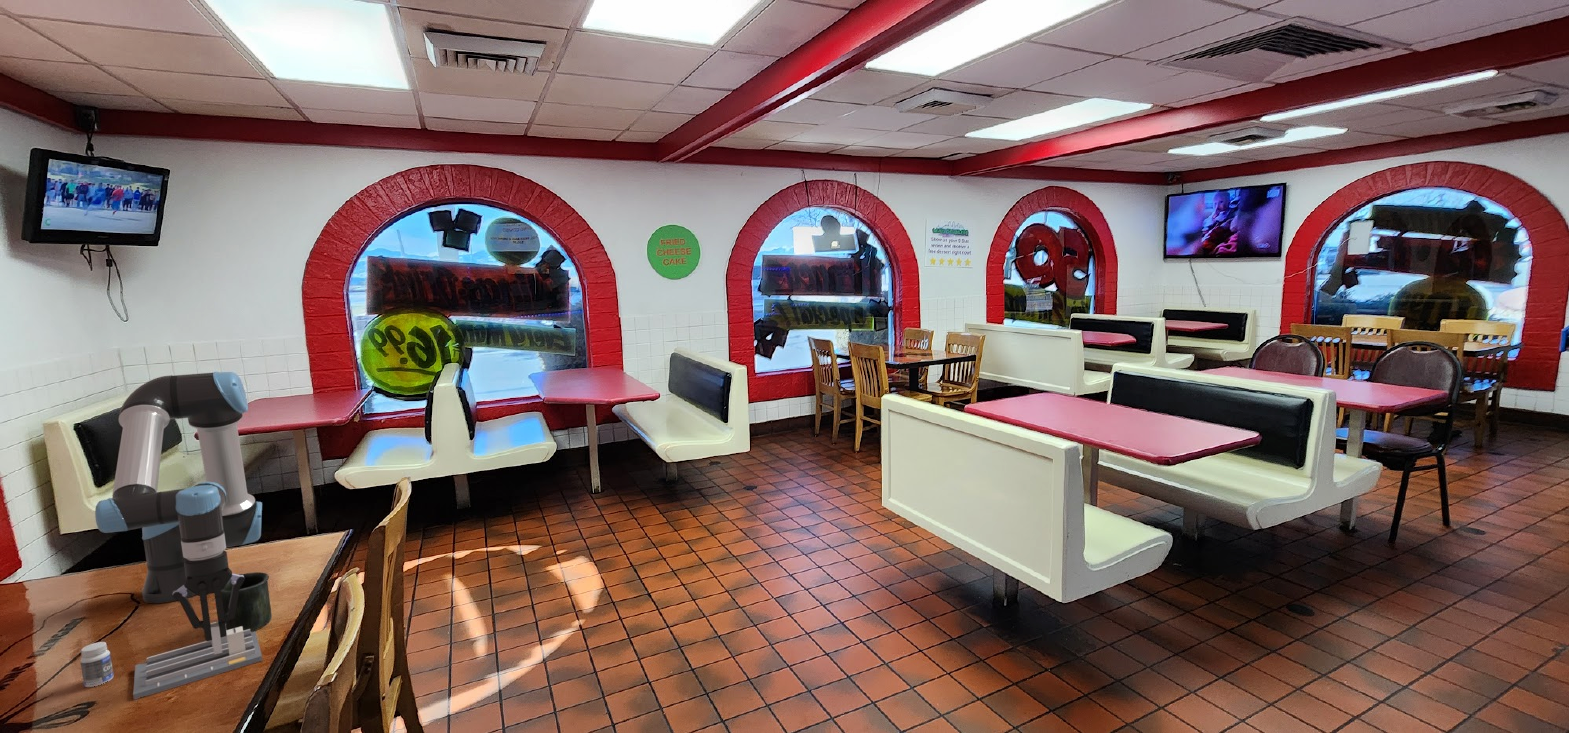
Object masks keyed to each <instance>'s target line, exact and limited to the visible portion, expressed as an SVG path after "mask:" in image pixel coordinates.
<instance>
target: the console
mask: <svg viewBox="0 0 1569 733" xmlns="http://www.w3.org/2000/svg"><path fill="white" fill-rule="evenodd" d="M215 622H216V621H214V622H210V624H212V623H215ZM225 625H226V624H225ZM243 633H244V640H245V648H246V651H244V652H240V653H237V654H234V655H230V656H229V649H228V642H227V634H226V636H225V637H221V645H222V653H219V654H215V655H214V649H213V642H212V640H211V641H206V640H205V641H201V642H197V643H195V644H194V643H193V644H192V645H188V646H187V645H186V646H184V647H180V648H176V649H173V650H169V651H165V652H162V653H159V654H156V655H151V656H148V657H146V661H144V662H142V663H138V664H136V665H134V680H133V692H132V695H133V696H132V697H133V700H134V699H135V700H139V699H141V698H140V697H142V698H144V697H143V696H145V697H149V696H151V695H154V694H158V693H161V692H164V691H167V690H170V689H174V688H178V687H181V686H184V685H186V684H190V683H194V682H197V681H201V680H204V679H206V678H210V677H213V676H216V675H220V674H223V673H226V672H230V671H232V670H235V669H239V668H242V667H246V666H249V665H252V664H255V663H259V662H263V656H262V655H263V654H262V650H261V648H260V644H259V640H258V636H257V630H254V631H251V632H250V629H248V630H244V631H243ZM138 698H139V699H138Z"/></svg>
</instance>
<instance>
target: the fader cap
mask: <svg viewBox="0 0 1569 733" xmlns="http://www.w3.org/2000/svg"><path fill="white" fill-rule="evenodd" d="M226 633H227V642H228V649H229V656H230V655H234V654H237V653H240V652H244V651H246V648H245V640H244V633H243V627H242V626H241V627H237V628H233V629H230V630H226Z"/></svg>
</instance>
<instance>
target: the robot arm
mask: <svg viewBox="0 0 1569 733" xmlns="http://www.w3.org/2000/svg"><path fill="white" fill-rule="evenodd" d="M248 410H249V405H248V399H247V394H246V390H245V388H244V384H243V382H242V380H241V378H240V376H239V375H238V374H237V373H236V372H233V371H221V372H220V371H214V372H206V373H205V372H204V373H192V374H191V373H190V374H178V375H163V376H159V377H156V378H153V379H150V380H149V381H146V382H145V383H144V384H142V385H140V386H139V387H137V388H136V389H135V390H133V392H132V393H130V394H129V395H128V396H127V398H126V399H125V401H124V402H123V403H122V406H121V407H120V410H119V415H118V423H119V425H120V426H121V427H122V432H121V438H120V443H119V449H118V457H117V464H116V469H115V477H114V484H113V489H112V495H111V496H112V498H111V497H108V498H107V499H102V500H99V501H98V502H97V504H96V505H95V509H94V510H95V511H94V514H95V516H94V517H95V523H96V526H97V528H98V531H100V532H101V533H105V534H106V533H107V534H108V533H115V532H116V533H117V532H127V531H131V530H136V529H141V530H142V532H141V533H142V535H141V536H142V537H141V539H142V541H143V546H144V553H145V560H146V566H147V574H146V577H145V581H144V584H143V588H142V593H141V594H142V599H143V602H144V603H149V604H164V603H171V602H175V601H178V602H179V604H180V605H181V607H182V608H183V611H184V612H185V615H186V617H187V618H188V620H189V622H190V625H191V627H192V628H193V629H194V630H198V629H203V631H204V639H205V641H211V640H212V642H213V649H214V655H215V654H219V653H222V645H221V637H225V636H226V634H227V633H226V625H225V624H226V622H227V621H228V620H231V619H233V618H234V617H235V612H236V606H237V601H238V596H239V590H240V587H241V585H242V583H243V582H244V580H245V578H244V575H243V574H244V573H240V574H237V573H233V571H232V570H231V569H230V567H229V561H228V552H227V551H226V549H227V548H231V547H235V546H236V547H237V546H244V545H247V544H252V543H255V542H258V541H259V539H261V536H262V515H263V514H262V513H263V512H262V511H263V502H261V501H256V498H255V496H254V495H252V494H250V493H248V488H247V481H246V476H245V475H246V474H245V468H244V463H243V456H242V449H241V442H240V436H239V429H238V423H239V422H240V421H241V420H242V419H243V418H244V417H243V414H244V413H247V412H248ZM180 419H181V420H182V419H187V421H188V425H189V426H190V427H192V428H195V429H196V430H197V435H198V442H199V446H200V453H201V458H202V464H203V469H204V470H203V471H204V477H205V481H201V482H199V483H197V484H195V485H193V486H191V487H186V488H178V489H172V490H165V491H158V488H159V487H158V486H159V477H160V470H161V469H160V467H161V457H162V449H163V448H162V447H163V440H164V439H163V438H164V430H165V428H166V427H168V425H169V424H170V421H171V420H180ZM230 579H231V583H232V584H233V586H232V591H231V596H230V602H229V607H228V612H227V614H225V615H224V609H223V602H222V594H221V590H223V588H224V587H225V586H226V584H227V583H228V581H229V580H230ZM211 594H214V602H215V609H216V616H217V621H214V622H215V623H214V622H211V620H210V612H209V604H208V596H209V595H211ZM195 595H196V596H198V597H199V600H200V602H199V603H200V608H201V609H200V610H201V615H202V616H201V618H202V620H201V619H199V617H198V615H197V613H196V611H195V609H194V607H193V606H192V604H191V602H190V600H189V598H191V597H193V596H195ZM210 623H212V624H210Z"/></svg>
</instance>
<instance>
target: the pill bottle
mask: <svg viewBox="0 0 1569 733" xmlns="http://www.w3.org/2000/svg"><path fill="white" fill-rule="evenodd" d="M80 653H81V658H80V661H79V662H80V667H81V674H82V680H83V685H84V687H86V688H94V686H95V687H98V685H99V686H101V684H102V685H104V684H106V683H105V682H107V681H108V682H110V681H111V680H112V679H113V678H114V669H113V664H112V663H113V662H112V657H111V651H110V650H109V649H108V645H107V642H105V641H98V642H94V643H91V644H87V645H85V646H84V647H82V648H81V650H80ZM108 682H107V683H108ZM103 683H104V684H103Z"/></svg>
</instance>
